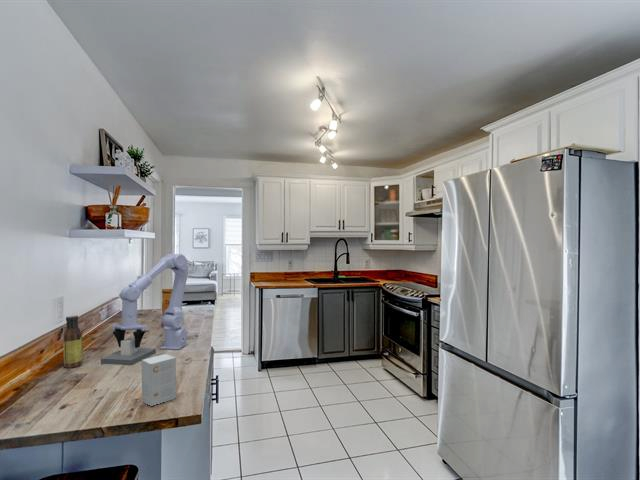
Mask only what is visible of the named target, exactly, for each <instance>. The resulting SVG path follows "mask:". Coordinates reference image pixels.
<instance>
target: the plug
mask: <svg viewBox="0 0 640 480" xmlns="http://www.w3.org/2000/svg"><path fill="white" fill-rule="evenodd" d="M138 348H139V347H138ZM138 348H135V339H134V337H128V338H124V340H122V341H121V347H120V350H121V356H131V355H133V354H135V353H137V352H138Z"/></svg>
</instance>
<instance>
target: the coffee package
mask: <svg viewBox="0 0 640 480" xmlns="http://www.w3.org/2000/svg"><path fill="white" fill-rule="evenodd" d="M172 289H173V288H162V289H161V311H162V313H161V317H162V316H163V315H164V313H165V310H166V309H167V308H168V307H169V303H170V299H171V294H172ZM181 309H182V310H183V308H182V307H181ZM160 322H161V321H160ZM160 325H161V326H163V327H164V325H163V324H162V322H161V323H160Z"/></svg>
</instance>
